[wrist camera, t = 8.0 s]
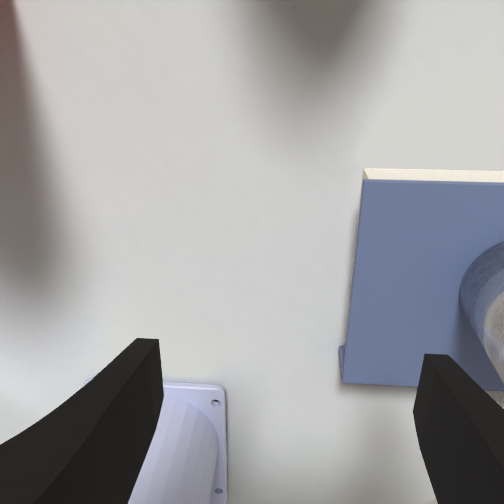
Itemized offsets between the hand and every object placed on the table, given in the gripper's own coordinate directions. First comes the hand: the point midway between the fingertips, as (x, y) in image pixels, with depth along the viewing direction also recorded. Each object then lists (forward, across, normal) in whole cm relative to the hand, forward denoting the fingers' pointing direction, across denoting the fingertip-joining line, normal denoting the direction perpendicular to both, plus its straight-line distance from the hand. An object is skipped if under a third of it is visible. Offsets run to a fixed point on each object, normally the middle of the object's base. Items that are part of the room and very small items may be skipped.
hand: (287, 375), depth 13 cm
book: (+11, -10, +2) cm, 15 cm away
